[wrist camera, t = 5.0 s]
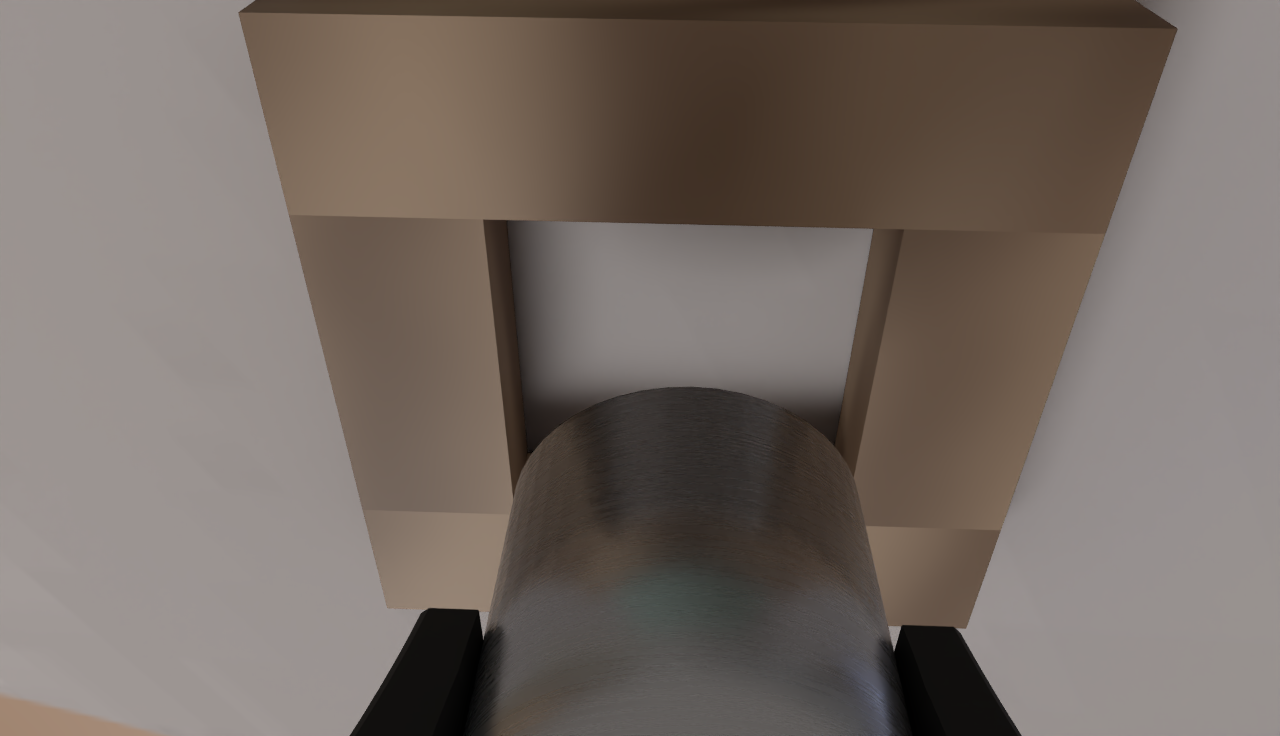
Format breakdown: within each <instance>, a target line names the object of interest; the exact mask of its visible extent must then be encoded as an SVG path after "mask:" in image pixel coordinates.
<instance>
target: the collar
mask: <svg viewBox="0 0 1280 736" xmlns="http://www.w3.org/2000/svg"><path fill="white" fill-rule="evenodd" d="M238 13H239V17H240V21H241V25H242V29H243V33H244V37H245V41H246V45H247V49H248V53H249V57H250V61H251V65H252V69H253V73H254V77H255V81H256V85H257V89H258V93H259V97H260V101H261V105H262V109H263V113H264V117H265V121H266V125H267V129H268V133H269V137H270V141H271V145H272V149H273V153H274V157H275V161H276V165H277V169H278V173H279V177H280V181H281V185H282V189H283V193H284V197H285V201H286V205H287V209H288V213H289V217H290V221H291V225H292V229H293V233H294V237H295V241H296V245H297V249H298V253H299V257H300V261H301V265H302V269H303V273H304V277H305V281H306V285H307V289H308V293H309V297H310V301H311V305H312V309H313V313H314V317H315V321H316V325H317V329H318V333H319V337H320V341H321V345H322V349H323V353H324V357H325V361H326V365H327V369H328V373H329V377H330V381H331V385H332V389H333V393H334V397H335V401H336V405H337V409H338V413H339V417H340V421H341V425H342V429H343V433H344V437H345V441H346V445H347V449H348V453H349V457H350V461H351V465H352V469H353V473H354V477H355V481H356V485H357V489H358V493H359V497H360V501H361V505H362V509H363V513H364V517H365V521H366V525H367V529H368V533H369V537H370V541H371V545H372V549H373V553H374V557H375V561H376V565H377V569H378V573H379V577H380V581H381V585H382V589H383V593H384V597H385V601H386V605H387V608H394V609H422V610H427V609H428V608H446V609H474V610H479V611H480V612H490V607H491V602H492V598H493V593H494V588H495V583H496V579H497V574H498V569H499V565H500V560H501V555H502V550H503V546H504V541H505V536H506V531H507V527H508V522H509V517H510V513H511V508H512V503H513V498H514V494H515V489H516V485H517V482H518V479H519V477H520V474H521V471H522V469H523V467H524V466H525V464H526V462H527V460H528V459H529V457H530V455H531V454H532V453H528V452H527V441H526V430H525V419H524V408H523V397H522V386H521V375H520V364H519V353H518V342H517V331H516V320H515V309H514V298H513V287H512V276H511V265H510V254H509V243H508V232H507V221H506V220H527V221H569V222H612V223H655V224H698V225H741V226H783V227H826V228H869V229H874V230H873V236H872V241H871V247H870V252H869V258H868V264H867V269H866V275H865V280H864V286H863V291H862V297H861V302H860V308H859V314H858V319H857V325H856V330H855V336H854V341H853V347H852V352H851V358H850V364H849V369H848V375H847V380H846V386H845V391H844V397H843V402H842V408H841V414H840V419H839V425H838V430H837V436H836V441H835V447H836V448H837V450H838V451H839V453H840V454H841V456H842V457H843V458H844V460H845V461H846V463H847V464H848V467H849V469H850V471H851V473H852V475H853V477H854V479H855V483H856V487H857V490H858V494H859V498H860V503H861V507H862V512H863V516H864V521H865V525H866V530H867V534H868V538H869V543H870V547H871V552H872V556H873V561H874V565H875V570H876V574H877V579H878V583H879V588H880V592H881V596H882V601H883V605H884V610H885V614H886V619H887V623H888V626H902V625H921V626H949V627H954V628H965V629H966V627H967V625H968V622H969V619H970V616H971V613H972V610H973V608H974V605H975V602H976V599H977V596H978V593H979V590H980V588H981V585H982V582H983V579H984V576H985V573H986V571H987V568H988V565H989V562H990V559H991V556H992V554H993V551H994V548H995V545H996V542H997V539H998V537H999V534H1000V531H1001V528H1002V525H1003V522H1004V520H1005V517H1006V514H1007V511H1008V508H1009V505H1010V503H1011V500H1012V497H1013V494H1014V491H1015V488H1016V486H1017V483H1018V480H1019V477H1020V474H1021V471H1022V469H1023V466H1024V463H1025V460H1026V457H1027V454H1028V452H1029V449H1030V446H1031V443H1032V440H1033V437H1034V435H1035V432H1036V429H1037V426H1038V423H1039V420H1040V418H1041V415H1042V412H1043V409H1044V406H1045V403H1046V401H1047V398H1048V395H1049V392H1050V389H1051V386H1052V384H1053V381H1054V378H1055V375H1056V372H1057V369H1058V366H1059V364H1060V361H1061V358H1062V355H1063V352H1064V349H1065V347H1066V344H1067V341H1068V338H1069V335H1070V332H1071V330H1072V327H1073V324H1074V321H1075V318H1076V315H1077V313H1078V310H1079V307H1080V304H1081V301H1082V298H1083V296H1084V293H1085V290H1086V287H1087V284H1088V281H1089V279H1090V276H1091V273H1092V270H1093V267H1094V264H1095V262H1096V259H1097V256H1098V253H1099V250H1100V247H1101V245H1102V242H1103V239H1104V236H1105V233H1106V230H1107V228H1108V225H1109V222H1110V219H1111V216H1112V213H1113V211H1114V208H1115V205H1116V202H1117V199H1118V196H1119V194H1120V191H1121V188H1122V185H1123V182H1124V179H1125V177H1126V174H1127V171H1128V168H1129V165H1130V162H1131V159H1132V157H1133V154H1134V151H1135V148H1136V145H1137V142H1138V140H1139V137H1140V134H1141V131H1142V128H1143V125H1144V123H1145V120H1146V117H1147V114H1148V111H1149V108H1150V106H1151V103H1152V100H1153V97H1154V94H1155V91H1156V89H1157V86H1158V83H1159V80H1160V77H1161V74H1162V72H1163V69H1164V66H1165V63H1166V60H1167V57H1168V55H1169V52H1170V49H1171V46H1172V43H1173V40H1174V38H1175V35H1176V32H1177V28H1176V27H1174V26H1173V25H1171V24H1170V23H1168V22H1167V21H1165V20H1164V19H1162V18H1161V17H1159V16H1158V15H1156V14H1155V13H1153V12H1151V11H1150V10H1148V9H1147V8H1145V7H1144V6H1142V5H1141V4H1139V3H1138V2H1136V1H1135V0H255V1H254V2H253V3H251V4H250V5H248V6H247V7H246V8H244V9H243V10H241V11H240V12H238Z"/></svg>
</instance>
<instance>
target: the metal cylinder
mask: <svg viewBox="0 0 1280 736" xmlns="http://www.w3.org/2000/svg"><path fill="white" fill-rule="evenodd" d="M463 736H913V735H912V730H911V726H910V721H909V717H908V712H907V708H906V703H905V699H904V694H903V690H902V686H901V681H900V677H899V672H898V668H897V663H896V659H895V654H894V650H893V645H892V641H891V637H890V632H889V628H888V623H887V619H886V614H885V610H884V605H883V601H882V596H881V592H880V588H879V583H878V579H877V574H876V570H875V565H874V561H873V556H872V552H871V547H870V543H869V538H868V534H867V530H866V525H865V521H864V516H863V512H862V507H861V503H860V498H859V494H858V490H857V487H856V483H855V479H854V477H853V475H852V473H851V471H850V469H849V467H848V464H847V463H846V461H845V460H844V458H843V457H842V456H841V454H840V453H839V451H838V450H837V448H836V447H835V446H834V445H833V444H832V443H831V442H830V441H829V440H828V439H827V438H826V437H825V436H824V435H823V434H822V433H821V432H819V431H818V430H817V429H816V428H814V427H813V426H812V425H810V424H809V423H808V422H807V421H805V420H803V419H802V418H800V417H798V416H797V415H795V414H793V413H791V412H790V411H788V410H786V409H784V408H781V407H779V406H777V405H775V404H772V403H770V402H768V401H765V400H762V399H759V398H755V397H752V396H749V395H745V394H742V393H737V392H731V391H726V390H721V389H713V388H700V387H667V388H659V389H651V390H643V391H638V392H634V393H630V394H626V395H622V396H618V397H615V398H612V399H609V400H607V401H604V402H601V403H598V404H596V405H594V406H592V407H590V408H588V409H586V410H584V411H582V412H580V413H578V414H576V415H574V416H573V417H571V418H570V419H568V420H567V421H565V422H564V423H562V424H561V425H559V426H558V427H557V428H556V429H555V430H553V431H552V432H551V433H550V434H549V435H548V436H547V437H546V438H545V439H543V440H542V442H541V443H540V444H539V445H538V447H537V448H536V449H535V450H534V451H533V453H532V454H531V455H530V457H529V459H528V460H527V462H526V464H525V466H524V467H523V469H522V471H521V474H520V477H519V479H518V482H517V485H516V489H515V494H514V498H513V503H512V508H511V513H510V517H509V522H508V527H507V531H506V536H505V541H504V546H503V550H502V555H501V560H500V565H499V569H498V574H497V579H496V583H495V588H494V593H493V598H492V602H491V607H490V612H489V616H488V621H487V626H486V631H485V635H484V640H483V645H482V650H481V654H480V659H479V664H478V668H477V673H476V678H475V683H474V687H473V692H472V697H471V701H470V706H469V711H468V716H467V720H466V725H465V730H464V735H463Z"/></svg>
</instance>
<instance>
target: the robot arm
mask: <svg viewBox="0 0 1280 736" xmlns="http://www.w3.org/2000/svg"><path fill="white" fill-rule="evenodd" d="M482 645H483V635H482V629H481V622H480V616H479V610H474V609H446V608H428V609H427V610H425V611H424V612H422V613H421V614H420V616H419V618H418V620H417V622H416V624H415V626H414V628H413V630H412V632H411V633H410V635H409V637H408V639H407V641H406V643H405V644H404V646H403V648H402V650H401V652H400V653H399V655H398V657H397V659H396V661H395V662H394V664H393V666H392V668H391V669H390V671H389V673H388V674H387V676H386V678H385V680H384V681H383V683H382V685H381V686H380V688H379V690H378V691H377V693H376V695H375V696H374V698H373V699H372V701H371V703H370V704H369V706H368V708H367V709H366V711H365V713H364V714H363V716H362V717H361V719H360V721H359V722H358V724H357V725H356V727H355V728H354V730H353V731H352V733H351V734H350V736H463V735H464V730H465V725H466V720H467V716H468V711H469V706H470V701H471V697H472V692H473V687H474V683H475V678H476V673H477V668H478V664H479V659H480V654H481V650H482ZM894 654H895V659H896V663H897V668H898V672H899V677H900V681H901V686H902V690H903V694H904V699H905V703H906V708H907V712H908V717H909V721H910V726H911V730H912V735H913V736H1021V734H1020V732H1019V731H1018V729H1017V728H1016V726H1015V724H1014V723H1013V721H1012V720H1011V718H1010V716H1009V715H1008V713H1007V712H1006V710H1005V708H1004V707H1003V705H1002V703H1001V702H1000V700H999V699H998V697H997V695H996V694H995V692H994V690H993V689H992V687H991V685H990V684H989V682H988V680H987V679H986V677H985V675H984V673H983V672H982V670H981V668H980V667H979V665H978V663H977V661H976V660H975V658H974V656H973V654H972V653H971V651H970V649H969V647H968V646H967V644H966V642H965V640H964V639H963V637H962V635H961V633H960V632H959V631H958V630H957V629H956V628H954V627H949V626H921V625H902V626H901V630H900V634H899V637H898V641H897V644H896V648H895V651H894Z"/></svg>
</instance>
